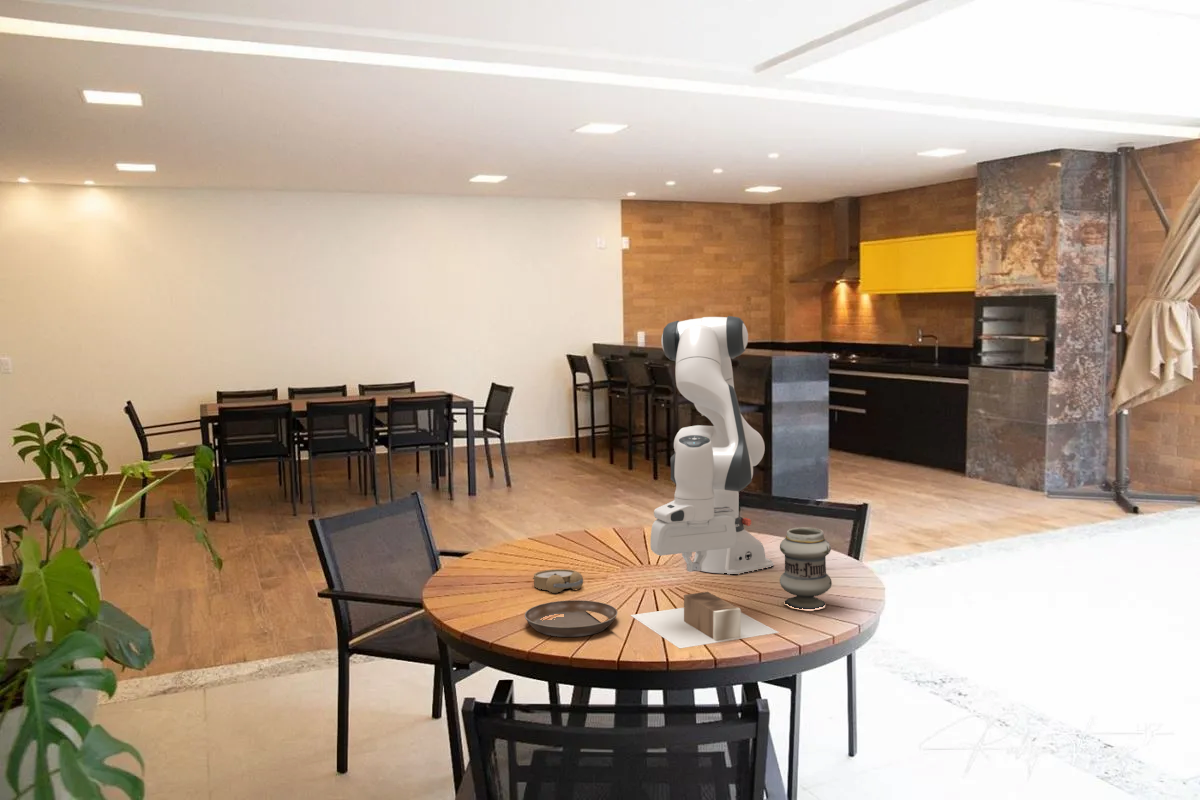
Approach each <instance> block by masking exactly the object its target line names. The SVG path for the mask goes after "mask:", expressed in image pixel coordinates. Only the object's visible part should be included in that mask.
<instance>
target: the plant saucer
mask: <svg viewBox="0 0 1200 800" xmlns="http://www.w3.org/2000/svg"><path fill="white" fill-rule="evenodd" d="M589 612H591V613H597V614H600V615H603V617H604V616H605V617H606V618H608V619H607V620H604V621H602V622H601V621H600V620H599V619H597V618H596V617H595V616H593V615H592V614H590V613H589ZM554 614H564V617H556V618H553V619H552V620H543V619H542V620H543V621H542V620H540V619H541V618H543V617H545V616H549V615H554ZM617 615H618V610H617V608H615V607H614V606H613V605H611V604H607V603H604V602H599V601H594V600H593V601H592V600H583V599H582V600H580V599H579V600H577V599H576V600H573V599H572V600H571V599H570V600H558V601H551V602H545V603H541V604H538V605H535V606H532V607H531V608H529V609H527V610H526V611H525V613H524V618H525V619H526V621H527V623H528V624H529V625H530V626H531V627H532V628H533V629H534V630H535V631H537V632H539V633H541V634H543V635H545V636H550V635H551V636H552V637H556V636H557V637H558V638H579V637H588V636H591V635H595V634H598V633H601V632H602V631H605V630H606V629H607V628H608V627H609V626H610V625H611V624H612V623H613V622H614V620H615V619H616V617H617ZM554 619H555V620H554ZM551 636H550V637H551ZM557 637H556V638H557Z"/></svg>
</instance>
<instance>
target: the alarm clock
mask: <svg viewBox="0 0 1200 800" xmlns="http://www.w3.org/2000/svg"><path fill="white" fill-rule="evenodd" d="M532 580H533V582H534V583H533V584H534V586H533V587H534V588H535V587H536V588H538V590H541V589H542V591H549V592H550V593H551V592H552V593H551V594H559V593H558V592H560V593H562V591H564V590H565V589H566V590H567V589H571V590H572V589H573V591H576V590H575V589H578V590H580V589H581V588H582V587H583V584H584V577H583V575H582V574H581V573H580V572H579V571H576V570H573V569H564V568H563V569H562V568H561V569H559V568H558V569H556V568H555V569H546V570H541V571H537V572H535V573H533V577H532ZM536 588H535V589H536Z"/></svg>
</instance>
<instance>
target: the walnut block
mask: <svg viewBox="0 0 1200 800" xmlns="http://www.w3.org/2000/svg"><path fill="white" fill-rule="evenodd" d="M683 608H684V622H686V623H687V624H689V625H691V626H692V627H694V628H696V629H697V630H699V631H701V632H702V633H704V634H705V635H707V636H709V637H710V638H712V639H714V640H715V641H717V640H724V639H730V638H736V637H741V612H742V610H741V608H740V607H738V606H735V604H732V603H730V602H728V601H726V600H724V599H722V598H720V597H719V596H717V595H714V594H713V593H711V592H709V591H703V592H697V593H687V594H684V595H683Z"/></svg>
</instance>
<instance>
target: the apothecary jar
mask: <svg viewBox="0 0 1200 800" xmlns="http://www.w3.org/2000/svg"><path fill="white" fill-rule="evenodd" d="M779 549H780V552H781V553H782V554H783V555H784V572H783V573H782V574H781V575H780V578H779V584H780V587H781V588H782V589H783V590H784V591H786V592H787V593H789V594H791V595H794V596H792V597H789V598H787V599H785V600H784V602H785V604H788V605H789V606H792V607H794V608H799V609H802V608H803V609H815V608H819V607H823V606H824V605H825V603H826V602H825V601H824V600H822V599H820V598H818V596H821V595H823V594H825V593H827V592H828V591H829V590H830V589H831V588H832V585H833V583H832V578H831V576H829V574H827V565H826V563H827V561H826V557H827V556H828V555H829V554H830V553H831V551H832V550H831V549H832V546H831V544H830V542H829V541H828V540H827V539H825V535H824V530H822V529H820V528H816V527H793V528H789V529H787V531H786V535H785V538H783V539H782V541H781V542H780V543H779Z"/></svg>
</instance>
